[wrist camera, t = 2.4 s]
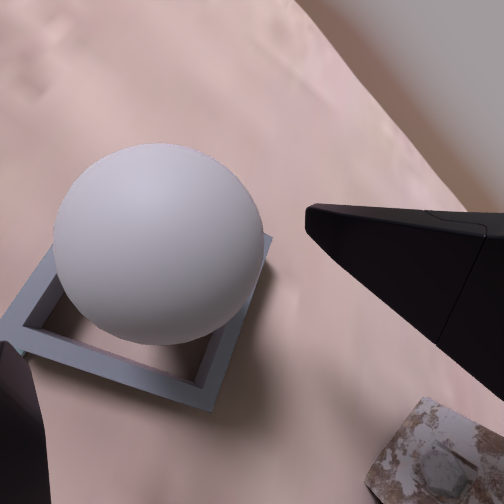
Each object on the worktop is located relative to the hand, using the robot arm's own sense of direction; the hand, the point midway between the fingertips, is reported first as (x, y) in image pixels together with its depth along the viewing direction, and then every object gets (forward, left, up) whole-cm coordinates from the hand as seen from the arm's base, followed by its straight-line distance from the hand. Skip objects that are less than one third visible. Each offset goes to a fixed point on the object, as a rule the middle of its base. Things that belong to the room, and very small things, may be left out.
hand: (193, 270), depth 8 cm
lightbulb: (+1, +1, -9) cm, 9 cm away
